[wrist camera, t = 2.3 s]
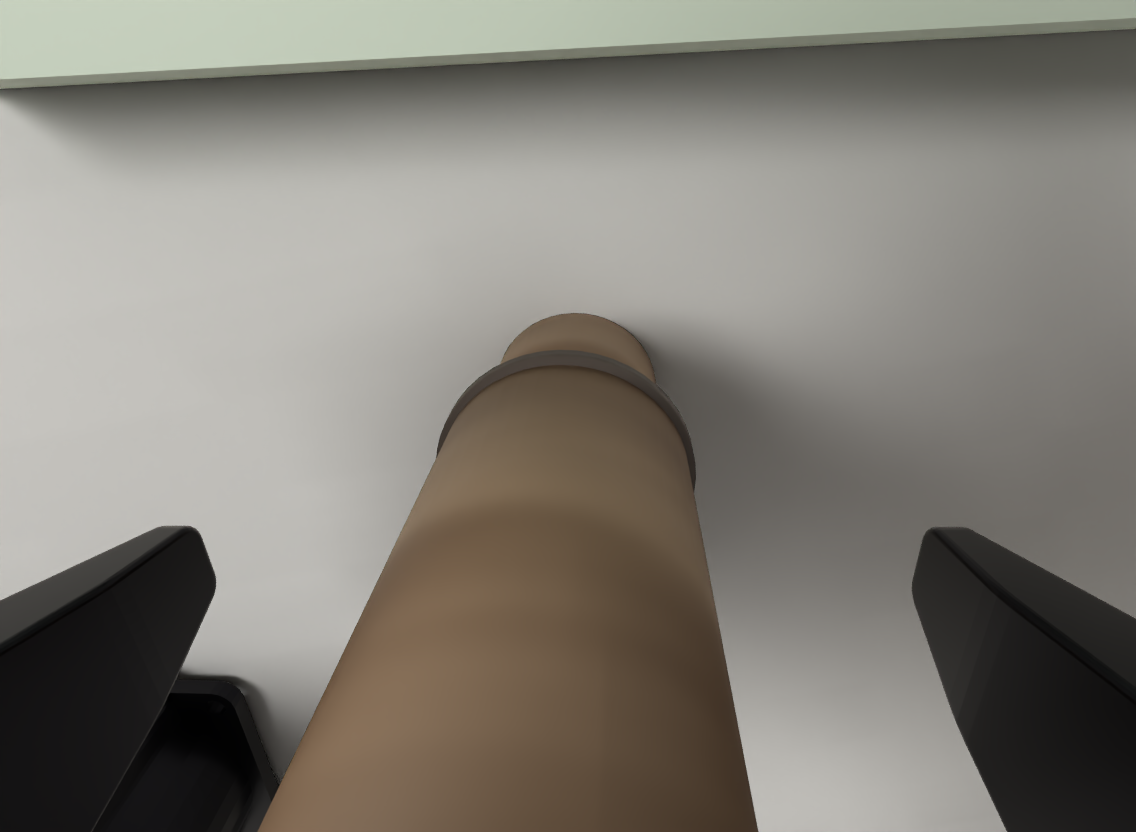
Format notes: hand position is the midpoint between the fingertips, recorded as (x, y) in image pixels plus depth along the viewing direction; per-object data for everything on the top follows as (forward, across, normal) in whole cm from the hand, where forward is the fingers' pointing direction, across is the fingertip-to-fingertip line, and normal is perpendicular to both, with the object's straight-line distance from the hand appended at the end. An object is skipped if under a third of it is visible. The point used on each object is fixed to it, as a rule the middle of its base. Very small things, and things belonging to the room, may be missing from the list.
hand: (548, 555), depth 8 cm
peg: (+5, 0, 0) cm, 5 cm away
